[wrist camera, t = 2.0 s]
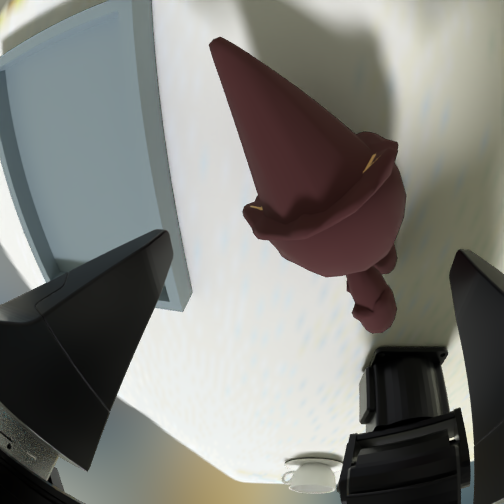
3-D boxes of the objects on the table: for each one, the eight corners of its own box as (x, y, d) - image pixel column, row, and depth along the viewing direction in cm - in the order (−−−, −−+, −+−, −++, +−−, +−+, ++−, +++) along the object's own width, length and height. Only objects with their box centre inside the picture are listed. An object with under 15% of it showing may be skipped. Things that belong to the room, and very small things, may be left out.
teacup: (348, 455, 37) (346, 483, 33) (343, 472, 42) (340, 495, 39) (282, 454, 39) (277, 481, 36) (286, 470, 45) (282, 493, 41)
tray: (151, -3, 11) (131, -8, 10) (192, 292, 22) (183, 311, 21) (3, 62, 14) (-16, 67, 12) (60, 274, 25) (48, 287, 23)
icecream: (103, 125, 10) (315, 356, 16) (257, -24, 5) (451, 341, 11) (194, 70, 14) (338, 264, 21) (310, -12, 9) (443, 237, 16)
